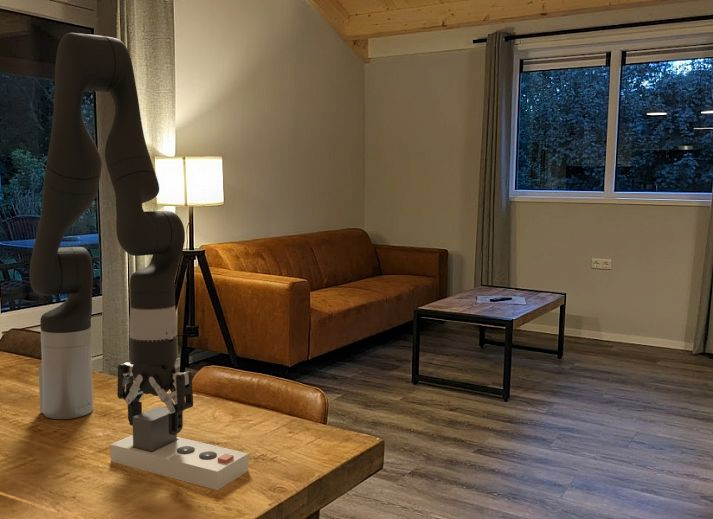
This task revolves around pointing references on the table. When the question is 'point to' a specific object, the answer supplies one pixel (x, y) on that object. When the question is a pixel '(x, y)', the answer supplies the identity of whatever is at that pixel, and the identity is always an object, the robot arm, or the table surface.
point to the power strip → (185, 461)
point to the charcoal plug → (152, 430)
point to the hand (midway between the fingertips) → (155, 428)
